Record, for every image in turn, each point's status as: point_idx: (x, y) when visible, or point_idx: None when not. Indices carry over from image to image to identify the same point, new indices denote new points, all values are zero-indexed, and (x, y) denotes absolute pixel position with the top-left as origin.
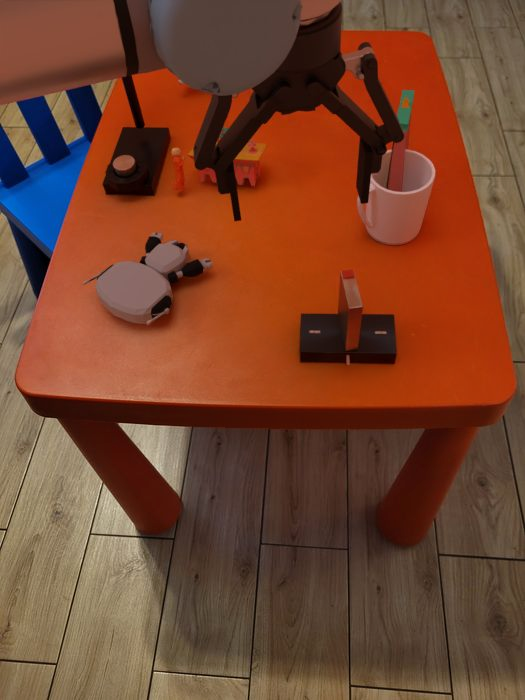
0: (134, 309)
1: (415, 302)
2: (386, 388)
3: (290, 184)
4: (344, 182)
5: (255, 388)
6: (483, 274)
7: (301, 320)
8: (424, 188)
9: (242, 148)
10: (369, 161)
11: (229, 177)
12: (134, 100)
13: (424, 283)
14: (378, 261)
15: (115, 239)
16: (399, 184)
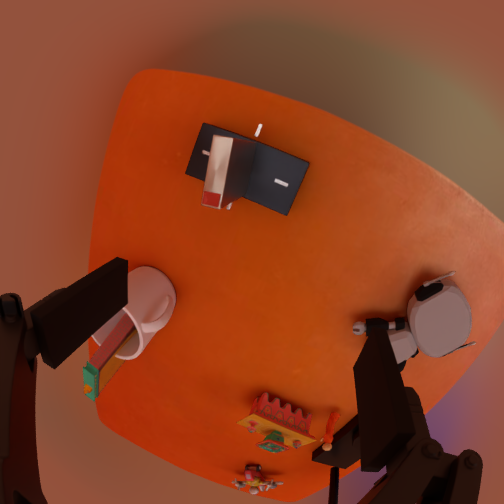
0: (457, 294)
1: (161, 192)
2: (231, 99)
3: (230, 379)
4: (180, 357)
5: (369, 152)
6: (99, 202)
7: (290, 205)
8: None
9: (370, 501)
10: (49, 304)
11: (409, 421)
12: (333, 489)
13: (145, 211)
14: (177, 257)
15: (412, 384)
16: (122, 319)
